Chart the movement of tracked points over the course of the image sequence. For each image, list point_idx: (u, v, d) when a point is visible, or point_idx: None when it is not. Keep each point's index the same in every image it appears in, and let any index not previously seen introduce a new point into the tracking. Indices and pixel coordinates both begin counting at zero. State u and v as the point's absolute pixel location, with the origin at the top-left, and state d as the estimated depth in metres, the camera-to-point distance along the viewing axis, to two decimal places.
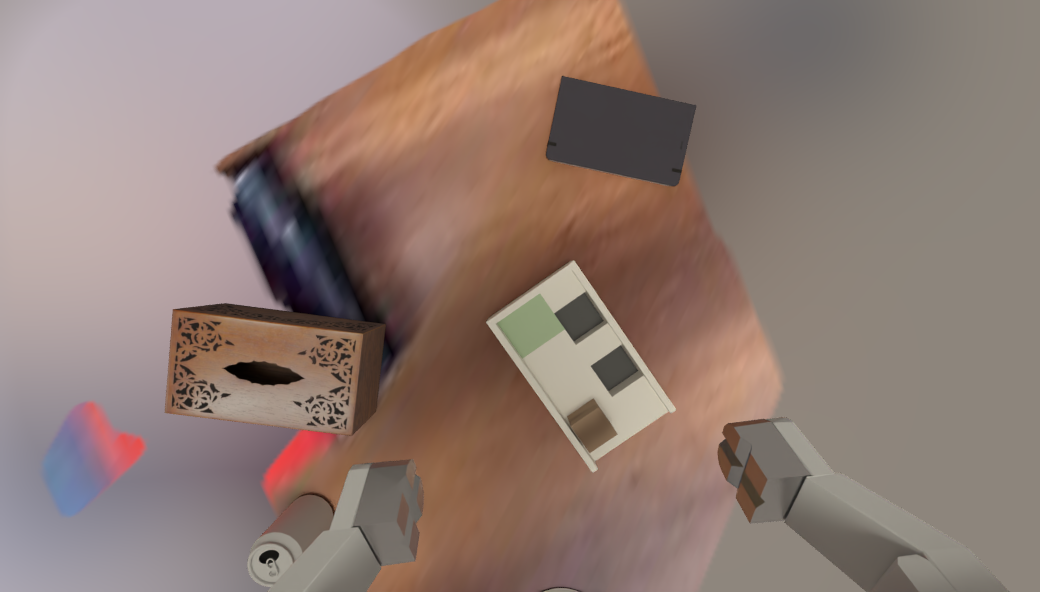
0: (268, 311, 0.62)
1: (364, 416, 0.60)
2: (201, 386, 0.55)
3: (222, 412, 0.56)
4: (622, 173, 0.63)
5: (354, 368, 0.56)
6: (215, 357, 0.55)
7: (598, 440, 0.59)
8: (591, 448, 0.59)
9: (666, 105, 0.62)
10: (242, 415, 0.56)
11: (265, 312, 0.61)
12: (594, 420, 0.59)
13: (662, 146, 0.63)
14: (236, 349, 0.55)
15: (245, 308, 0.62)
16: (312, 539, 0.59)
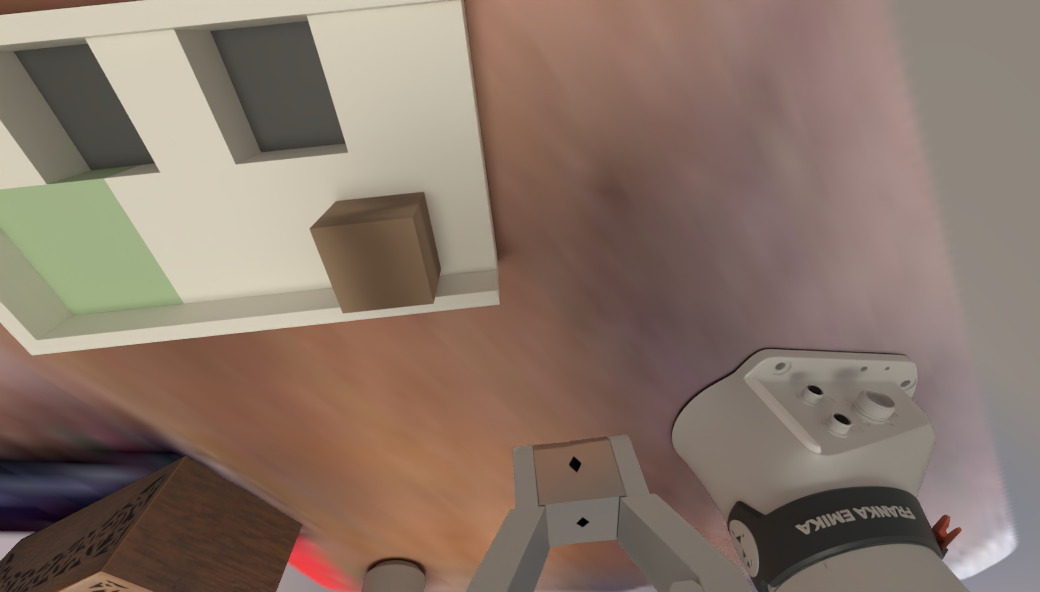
0: (48, 538, 0.40)
1: (271, 574, 0.40)
2: None
3: None
4: None
5: None
6: None
7: (408, 271, 0.21)
8: (424, 294, 0.22)
9: None
10: None
11: (38, 550, 0.38)
12: (347, 256, 0.20)
13: None
14: None
15: (25, 549, 0.40)
16: None
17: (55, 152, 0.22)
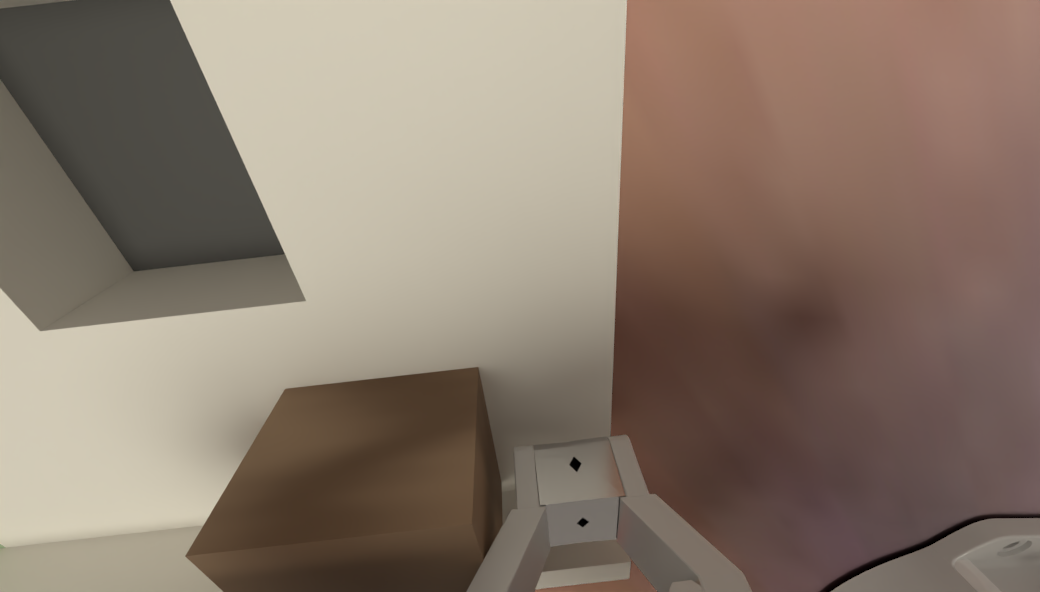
0: None
1: None
2: None
3: None
4: None
5: None
6: None
7: None
8: None
9: None
10: None
11: None
12: (296, 590, 0.08)
13: None
14: None
15: None
16: None
17: None
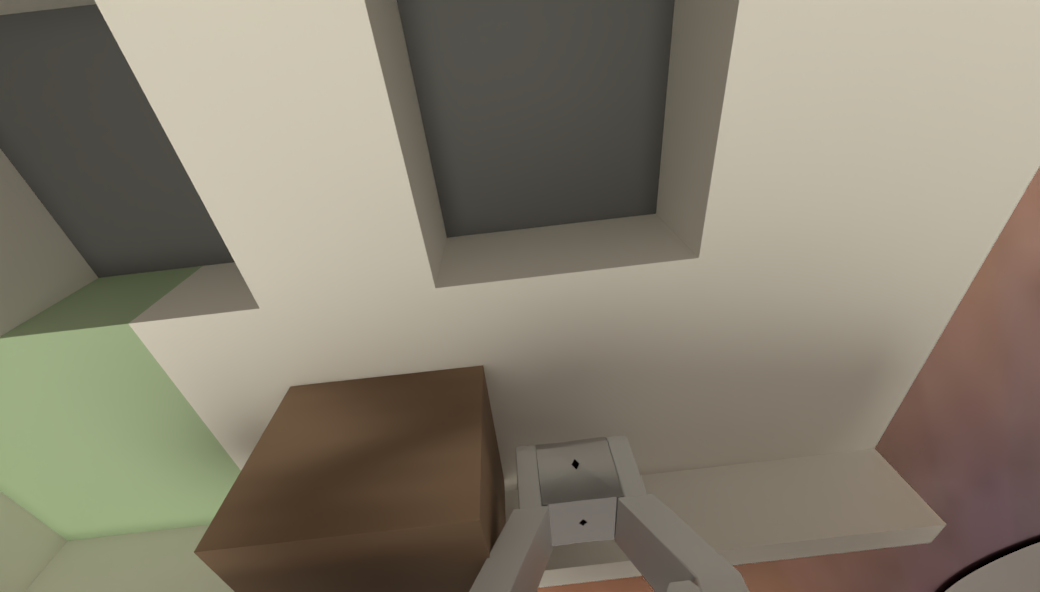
0: None
1: None
2: None
3: None
4: None
5: None
6: None
7: None
8: None
9: None
10: None
11: None
12: (303, 586, 0.08)
13: None
14: None
15: None
16: None
17: (19, 257, 0.10)
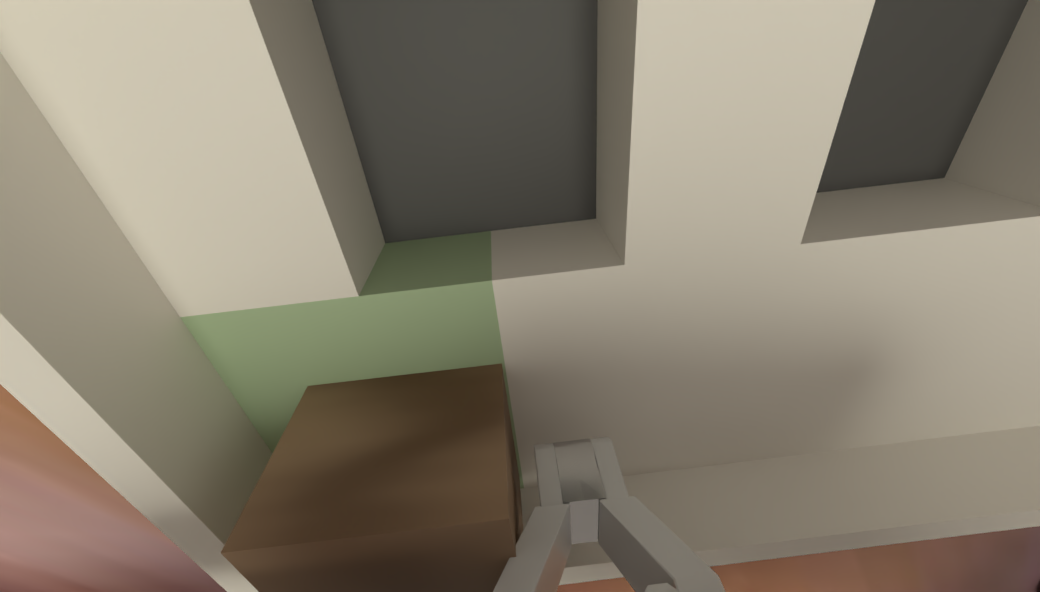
0: None
1: None
2: None
3: None
4: None
5: None
6: None
7: None
8: None
9: None
10: None
11: None
12: (328, 586, 0.08)
13: None
14: None
15: None
16: None
17: (358, 216, 0.10)
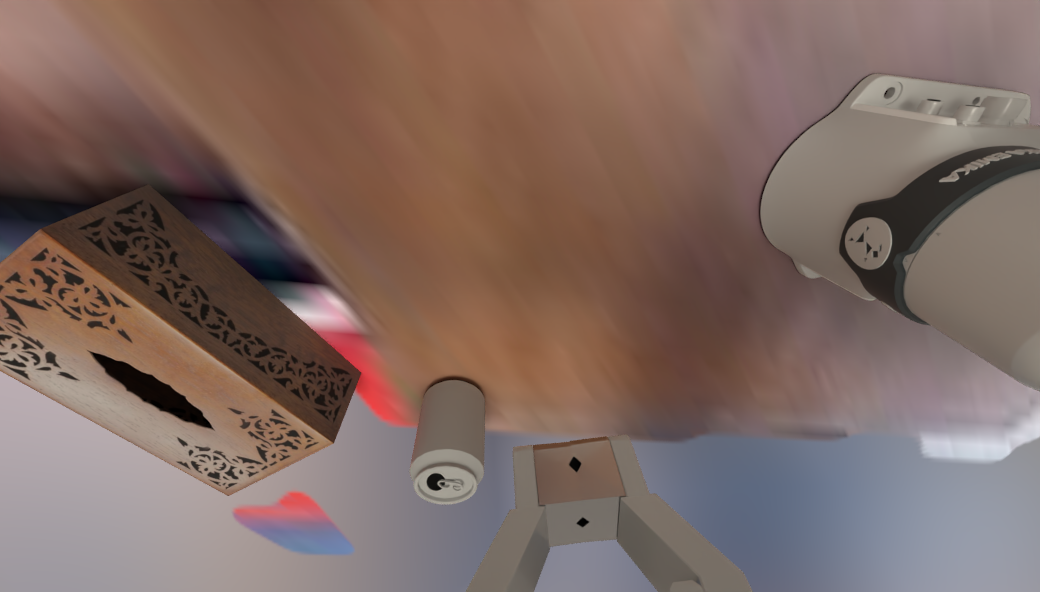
0: (219, 268, 0.36)
1: None
2: (27, 343, 0.31)
3: (46, 387, 0.33)
4: None
5: (290, 458, 0.39)
6: (85, 333, 0.30)
7: None
8: None
9: None
10: (82, 407, 0.34)
11: (214, 277, 0.35)
12: None
13: None
14: (132, 349, 0.31)
15: (183, 238, 0.35)
16: (457, 426, 0.42)
17: None
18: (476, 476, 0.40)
